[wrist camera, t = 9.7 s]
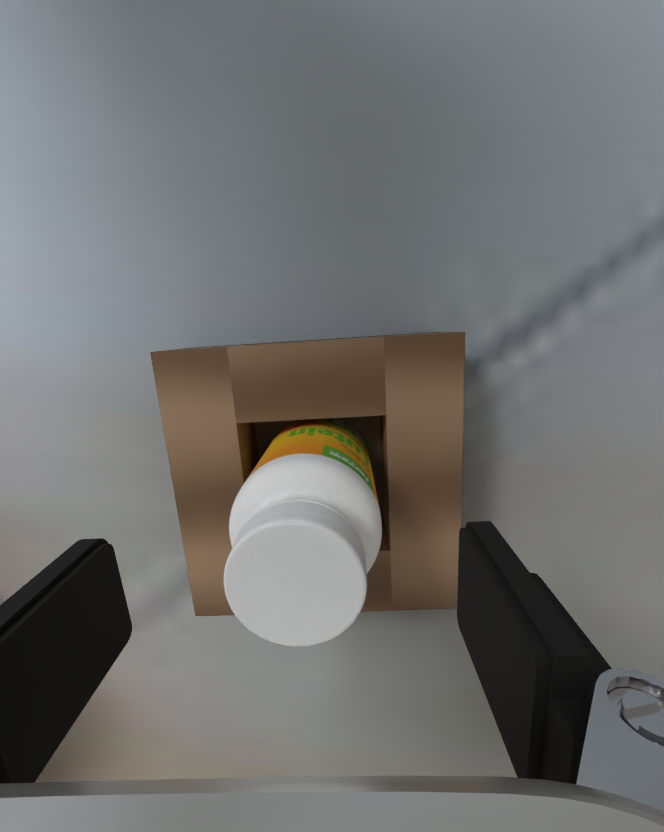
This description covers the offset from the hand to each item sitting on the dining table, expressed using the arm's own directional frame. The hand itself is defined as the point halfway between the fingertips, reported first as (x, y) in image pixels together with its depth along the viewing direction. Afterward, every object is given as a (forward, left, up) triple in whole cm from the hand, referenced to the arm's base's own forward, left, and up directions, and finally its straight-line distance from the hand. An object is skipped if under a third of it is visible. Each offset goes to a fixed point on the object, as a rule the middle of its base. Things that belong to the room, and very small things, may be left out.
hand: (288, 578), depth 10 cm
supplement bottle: (0, 0, -10) cm, 10 cm away
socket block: (+1, 0, -11) cm, 11 cm away
